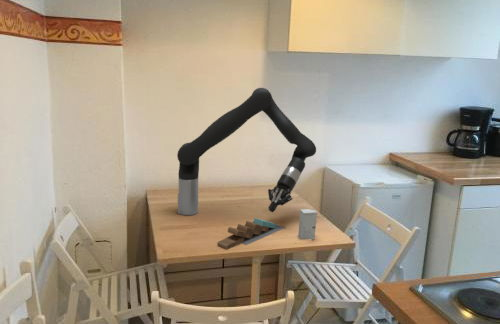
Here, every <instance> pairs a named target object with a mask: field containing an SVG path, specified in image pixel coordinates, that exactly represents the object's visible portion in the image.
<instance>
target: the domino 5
mask: <svg viewBox="0 0 500 324" xmlns="http://www.w3.org/2000/svg"><path fill="white" fill-rule="evenodd" d="M252 222H253V223H256V224H259V225H261V226H266V227H270V228H275V227H276V224H277V223H274V222H271V221H269V220H264V219H259V218H257V217H254V218H253V221H252Z"/></svg>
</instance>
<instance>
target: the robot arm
mask: <svg viewBox="0 0 500 324" xmlns="http://www.w3.org/2000/svg"><path fill="white" fill-rule="evenodd" d="M261 112H263V113H264V114H265V115H266V116H267V117H268V118H269V119H270V120H271V122H272V123H273V124H274V125H275V127H276V128H277V130H278V131H279V133H280V134H281V135H282V136H283V137H284V138H285V140H287V142H288V143H289V144H291V145H295V146H296V147H295V148H294V151H293V152H292V156H291V160H290V161H289V163H288V165H286V167H285V169H284V170H283V172H282V174H281V175H280V177H279V178H278V181H277V183H276V185H275V186H274V187H273V188H272V189H271V188H269V189H267V192H268V200H269V201H270V204H269V205H268V211H269V212H270V213H274V212H275V211H276V209H277V208H278V206H284V205H285V204H287V203H289V202H291V201H293V196H292V195H291V193H292V191H293V189H294V188H295V186H296V184H297V183H298V181H299V180H300V177H301V174H302V173H303V171H304V169H305V168H306V162H305V160H306V159H307V158H311V157H313V156H315V155H316V152H317V147H316V144H315V143H314V142H313V140H311V139H310V138H309V137H307V136H306V135H305V134H303V133H302V132H301V131H300V129H298V127H297V126H296V125H295V124H294V123H293V122H292V120H291V119H290V118H289V117H288V116H287V115H286V114H285V113H284V112H283V111H282V110H281V109H280V107H279V106H278V105H277V103H276V101H275V100H274V98H273V96H272V94H271V92H270V91H269V89H267V88H265V87H257V88H256V89H254V90H253V91H252V93H251V95H250V96H249V97H248V98H247V99H246V100H244V101H243V102H242V103H241V104H239V105H238V106H237V107H234V108H232V109H231V110H229V111H227V112H225V113H224V114H223V115H221V116H219V118H217V119H216V120H214V121H213V122H212V123H211V124H210V125H208V127H207V128H206V129H205V130H204V131H203V132H202V133H201V134H200V135H199V136H198V137H196V138H195V139H193V140H192V141H190V142H186V143H183V144H182V145H181V146H180V148H179V149H178V151H177V154H176V155H177V161H178V162H179V163H178V165H179V167H178V193H177V214H179V215H183V216H194V215H197V214H199V174H200V173H199V171H200V159H201V156H203V155H204V154H205V153H206V152H207V151H209V150H210V149H212V148H213V147H215V146H216V145H218V144H220V143H221V142H223V141H224V140H225V139H227V138H228V137H230V136H231V135H233V134H234V133H235V132H236V131H237V130H239V129H240V128H241V127H242V126H243V125H245V123H247V122H248V121H249V119H251V118H252V117H254V116H256V115H257V114H259V113H261Z"/></svg>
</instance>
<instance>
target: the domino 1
mask: <svg viewBox="0 0 500 324" xmlns="http://www.w3.org/2000/svg"><path fill="white" fill-rule="evenodd" d="M243 242H244V237H241V236H237V235H234V234H231V235H229V236H226V237H225V238H223V239H221V240H219V241H217V246H218V247H219V248H222V249H224V250H229V249H231V248H234V247H235V246H239V245H241V244H242V243H243Z"/></svg>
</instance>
